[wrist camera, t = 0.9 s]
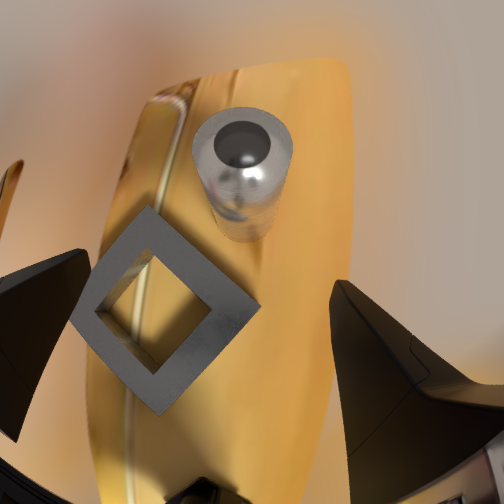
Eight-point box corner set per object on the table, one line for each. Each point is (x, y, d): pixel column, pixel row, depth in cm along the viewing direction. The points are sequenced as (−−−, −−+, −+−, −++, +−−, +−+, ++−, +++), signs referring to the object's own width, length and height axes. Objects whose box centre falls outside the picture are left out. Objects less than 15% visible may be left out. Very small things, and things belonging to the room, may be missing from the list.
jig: (167, 406, 21) (159, 416, 18) (77, 311, 22) (62, 310, 20) (260, 306, 23) (261, 306, 20) (156, 213, 24) (147, 203, 22)
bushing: (247, 255, 23) (246, 209, 12) (203, 217, 24) (171, 149, 13) (286, 211, 24) (313, 141, 13) (242, 176, 25) (238, 92, 14)
